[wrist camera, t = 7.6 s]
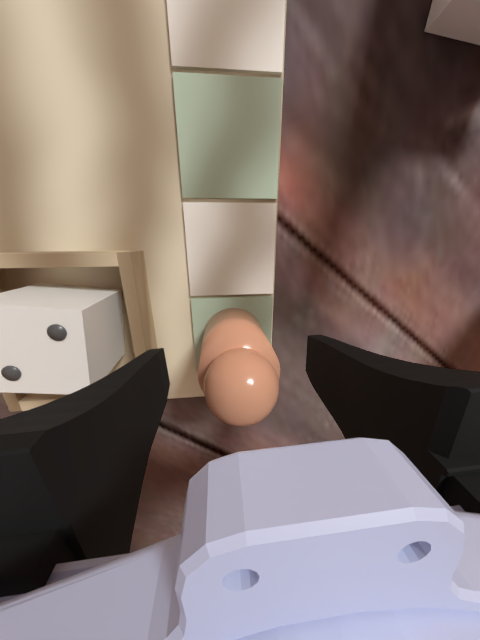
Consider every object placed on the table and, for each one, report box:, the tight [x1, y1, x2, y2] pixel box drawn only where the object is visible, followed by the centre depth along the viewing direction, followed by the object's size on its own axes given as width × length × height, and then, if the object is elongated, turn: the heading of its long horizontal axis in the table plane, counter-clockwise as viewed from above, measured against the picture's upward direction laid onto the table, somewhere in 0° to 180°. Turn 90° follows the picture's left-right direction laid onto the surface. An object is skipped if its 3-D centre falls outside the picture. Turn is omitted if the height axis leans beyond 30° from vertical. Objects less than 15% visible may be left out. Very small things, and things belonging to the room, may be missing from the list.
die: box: [0, 282, 125, 395], centre depth 11 cm, size 4×4×4 cm
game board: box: [0, 0, 287, 412], centre depth 11 cm, size 15×26×3 cm, turn 1°
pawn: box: [198, 308, 280, 426], centre depth 11 cm, size 4×4×7 cm
